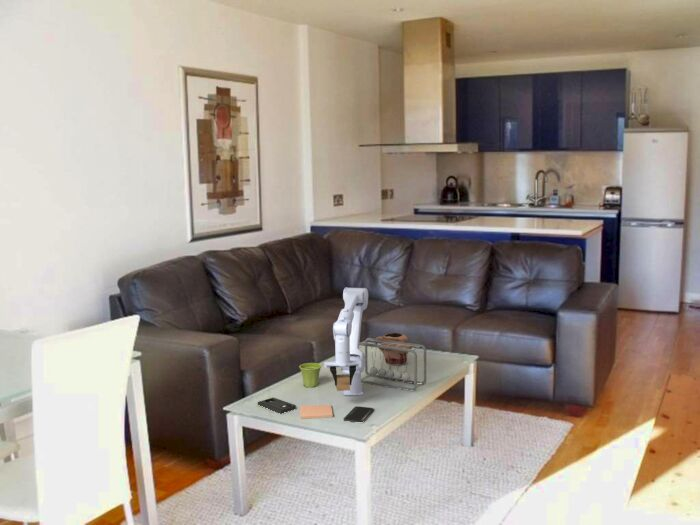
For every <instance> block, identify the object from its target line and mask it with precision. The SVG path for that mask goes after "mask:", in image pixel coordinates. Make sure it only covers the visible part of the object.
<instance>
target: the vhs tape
mask: <svg viewBox="0 0 700 525" xmlns="http://www.w3.org/2000/svg"><path fill="white" fill-rule="evenodd" d="M258 405H260V406H263V407H265V408H264V409H266V408H268V409H270V410H269V411H271V410H272V411H271V412H274V411H275V412H274V413H277V414H279V413H280V414H279V415H283V414H285V413H284V412H286V413H288V411H289V412H292V411H294V409H295V410H297V405H296V404H293V403H291V402H289V401H285V400H283V399H279V398H276V397H270V398H267V399H264V400H260V401H257V406H258ZM260 406H259V407H260ZM289 406H290V407H289ZM263 407H262V408H263ZM268 409H267V410H268ZM291 410H292V411H291ZM282 413H283V414H282Z"/></svg>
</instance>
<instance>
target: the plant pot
mask: <svg viewBox="0 0 700 525" xmlns="http://www.w3.org/2000/svg"><path fill="white" fill-rule="evenodd" d="M298 368H299V369H300V371H301V375H302V376H301V377H302V382H303V386H304V387H306V388H314V387H317V386H318V385H319V381H320V380H319V379H320V371H321V368H322V364H320V363H315V362H308V363H307V362H306V363H303V364H302V363H301V364H300V365H299V366H298Z"/></svg>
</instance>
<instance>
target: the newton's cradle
mask: <svg viewBox="0 0 700 525" xmlns="http://www.w3.org/2000/svg"><path fill="white" fill-rule="evenodd" d="M376 338H377V337H376ZM376 338H373V337H367V338H366V339H365V340H363V341H359V346H363V347H364V355H365V368H364V373H365V375H366V376H365V377H362V378H361V384H362V383H363V384H369V385H374V384H375V386H381V387H385V386H387V388H391V387H394V388H393V389H397V388H401V389H400V390H403V389H408V390H407V391H409V390H414V391H416V390H417V387H419V386H418V385H419V384H417V383H422V384H423V385H425V384H426V382H427V348H426V345H424V344H420V343H412V342H410V343H406V342H398V341H391V340H383V339H376ZM369 341H370V342H373V343H368V342H369ZM375 341H376V342H378V343H380V344H378V343H377V344H378V345H377V344H375V343H374V342H375ZM382 342H384V345H381V343H382ZM385 343H391V344H392V346H393V344H398V346H399V345H400V346H401V345H406V346H412V349H407V348H399V347H397V346H396V347H392V346H389V345H388V346H385ZM382 344H383V343H382ZM391 344H390V345H391ZM368 347H369V348H376V349H379V350H380V348H384V349H387V351H388V349H391V350H395V353H396V350H398V351H403V353H404V351H406V352H408V353H407V360H408V359H409V358H408V356H409V353H412V354H413V371H414V372H413V380H410V378H411V375H410V373H409V372H408V371H407V370H408V369H407V367H408V365H406V363H405V360H404V364H403V365H405V369H404V371H405V372H403V373H402V372H401V371H400V370H399V367H400V365H397V368H396V370H395V371H394V370H393V369H391V366H392V364H389V366H388V367H389V368H388V370H386V369H385V368H384V366H383V363H380V366H381V367H380V368H379V369H378V367H376V366H375V363H376V361H373V366H372V367H371V368H369V370H368V367H369V366H368V365H369V364H368ZM413 347H415V348H413ZM419 348H421V349H423V381H418V355H417V351H415V350H417V349H419ZM376 354H377V352H375V354H374V357H376V356H377V355H376ZM371 355H372V357H371V358H372V360H374V358H373V353H371ZM379 356H380V357H379V358H380V359H382V360H385V357H384V354H383V353H382V355H381V354H379ZM381 356H382V357H383V358H382V357H381ZM356 357H358V356H356ZM391 358H392V353H391ZM399 358H400V353H399ZM388 361H389V357H388ZM396 363H397V359H396ZM368 371H369V372H368ZM370 376H372V378H376V377H378V378H377V379H382V378H384V379H383V380H389V379H391V381H395V380H397V382H401V381H404V382H403V383H407V382H412V383H411V384H413V383H414V384H413V388H412V387H407V386H402V385H401V386H400V385H395V384H394V385H393V384H389V383H383V382H382V383H381V382H377V381H371V380H367V379H366V378H368V377H370ZM365 379H366V380H365Z"/></svg>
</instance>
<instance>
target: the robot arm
mask: <svg viewBox="0 0 700 525" xmlns="http://www.w3.org/2000/svg"><path fill="white" fill-rule="evenodd" d="M342 299H343V301H344V308H341V310H340V312H339V315H338V318H337V320H336V321H334V322H333V324H332V325H333V326H332V333H333V340H334V345H335V350H334V353H335V357H334V358H335V360H333V361H332V360H331V361H326V362H325V361H324V362H323V367H324V369H328V368H329V371H330V373H331V375H332V377H333V381H334V386H335V387H336V386H337V378H336V375H337V368H339V369H340V371H341V372H342V373H343V374H349V377H350V390H346V391H342V394H343V396H346V397H347V396H363V395H364V392H363V389H362V382H361V379H362V373H363V372H364V371H365V352H363V351H362V350H361V349H360V345H359V342H361V341H360V340H361V339H360V338H361V330H362V318H363V312H364V311H365V310H366V309H367V308H368V304H369V290H368V289H367V287H347V286H346V287H344V289H343V293H342ZM356 356H357V357H356Z"/></svg>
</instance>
